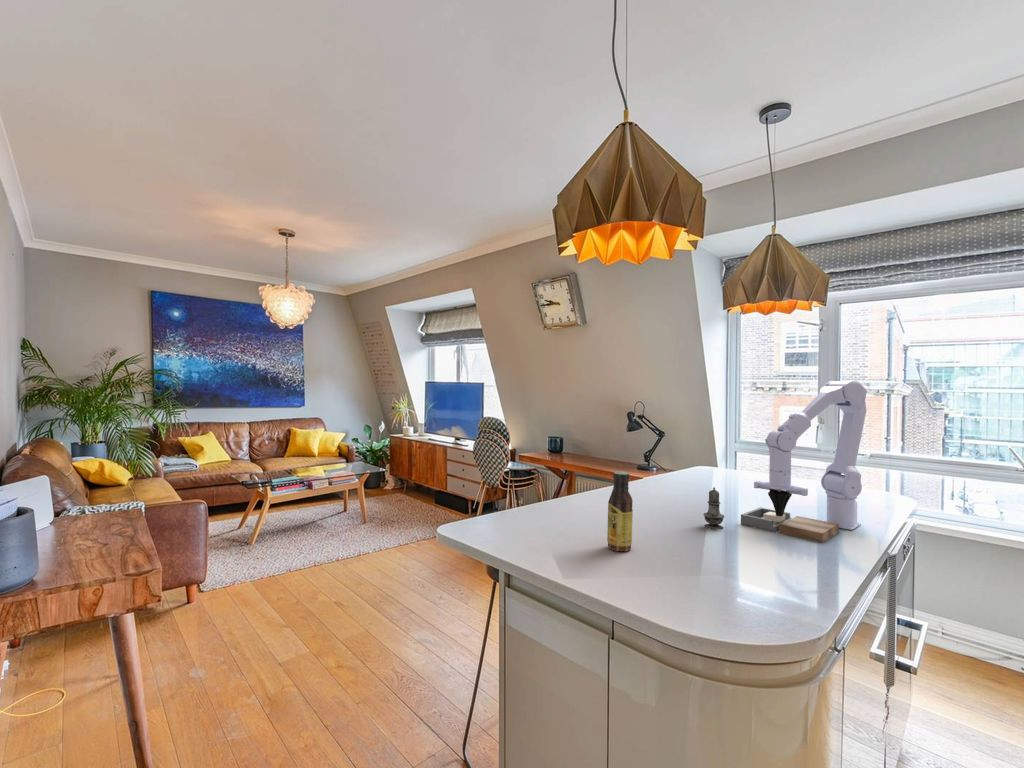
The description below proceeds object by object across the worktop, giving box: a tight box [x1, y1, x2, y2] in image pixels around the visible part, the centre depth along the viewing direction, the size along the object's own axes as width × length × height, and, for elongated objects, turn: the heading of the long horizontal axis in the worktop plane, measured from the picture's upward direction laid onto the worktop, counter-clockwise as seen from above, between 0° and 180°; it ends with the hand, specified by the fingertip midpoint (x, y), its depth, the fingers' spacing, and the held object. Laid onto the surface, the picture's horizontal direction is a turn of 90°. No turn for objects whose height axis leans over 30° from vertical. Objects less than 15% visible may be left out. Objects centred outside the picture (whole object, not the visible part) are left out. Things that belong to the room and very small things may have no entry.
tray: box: [740, 507, 792, 533], centre depth 151 cm, size 14×10×3 cm
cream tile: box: [763, 512, 785, 522], centre depth 150 cm, size 4×4×2 cm
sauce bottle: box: [606, 470, 634, 553], centre depth 127 cm, size 6×6×20 cm
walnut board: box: [778, 515, 840, 543], centre depth 142 cm, size 14×11×2 cm
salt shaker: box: [702, 486, 725, 530], centre depth 147 cm, size 6×6×12 cm
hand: (779, 515), depth 148 cm, fingers closed, pressing on cream tile
